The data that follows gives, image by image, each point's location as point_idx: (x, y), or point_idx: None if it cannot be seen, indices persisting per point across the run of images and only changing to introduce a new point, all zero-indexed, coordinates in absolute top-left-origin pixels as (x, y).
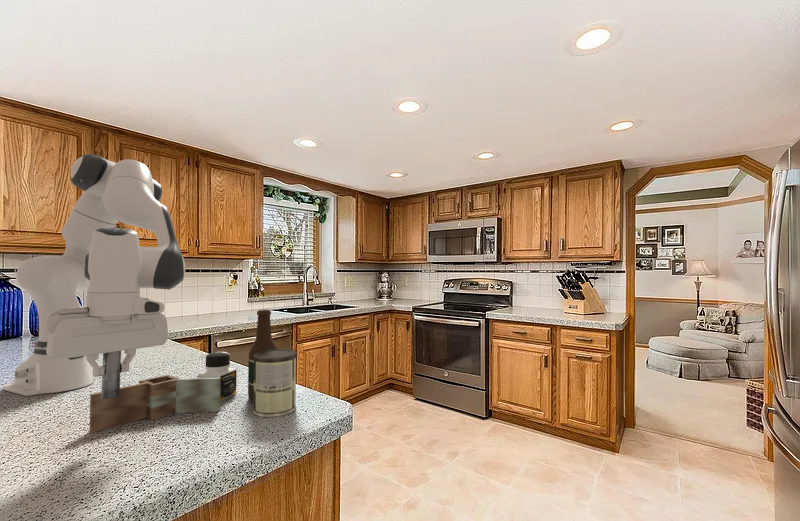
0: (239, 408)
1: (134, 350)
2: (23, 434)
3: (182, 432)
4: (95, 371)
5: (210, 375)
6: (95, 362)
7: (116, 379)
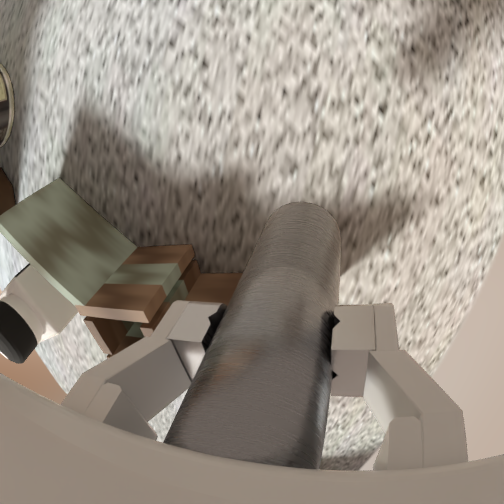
0: (29, 163)
1: (73, 400)
2: (418, 361)
3: (143, 81)
4: (395, 335)
5: (34, 301)
6: (413, 393)
7: (267, 255)
